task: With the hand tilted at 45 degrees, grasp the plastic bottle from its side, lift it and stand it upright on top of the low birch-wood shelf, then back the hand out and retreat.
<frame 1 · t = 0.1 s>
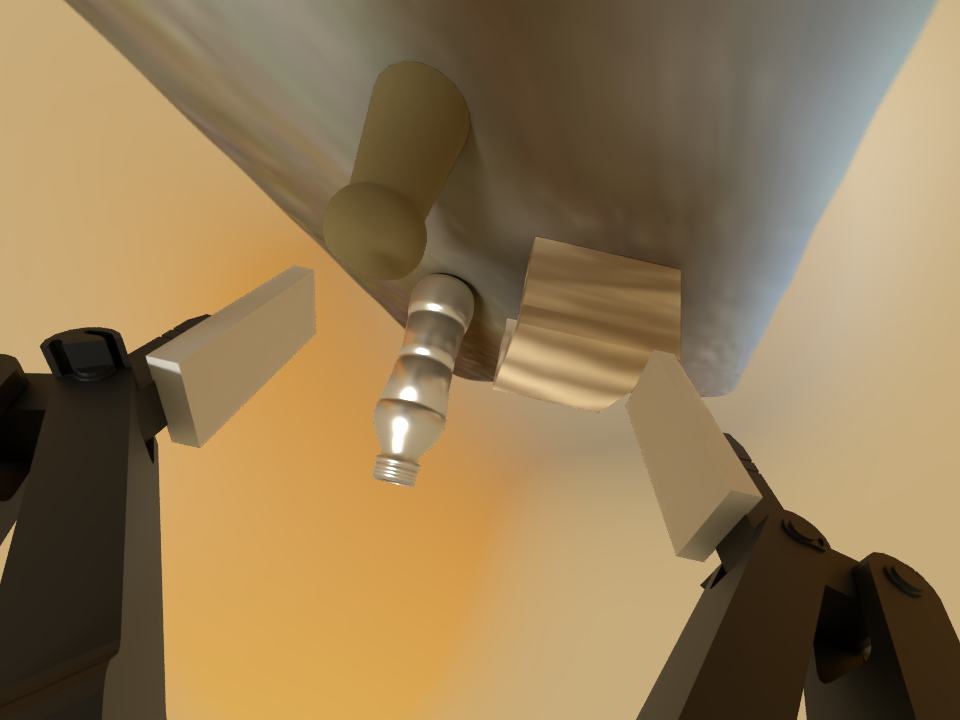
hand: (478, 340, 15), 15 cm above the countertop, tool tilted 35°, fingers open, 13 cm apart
cork: (422, 113, 24), on the countertop
birch shelf: (576, 303, 39), on the countertop
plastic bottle: (448, 283, 40), on the countertop
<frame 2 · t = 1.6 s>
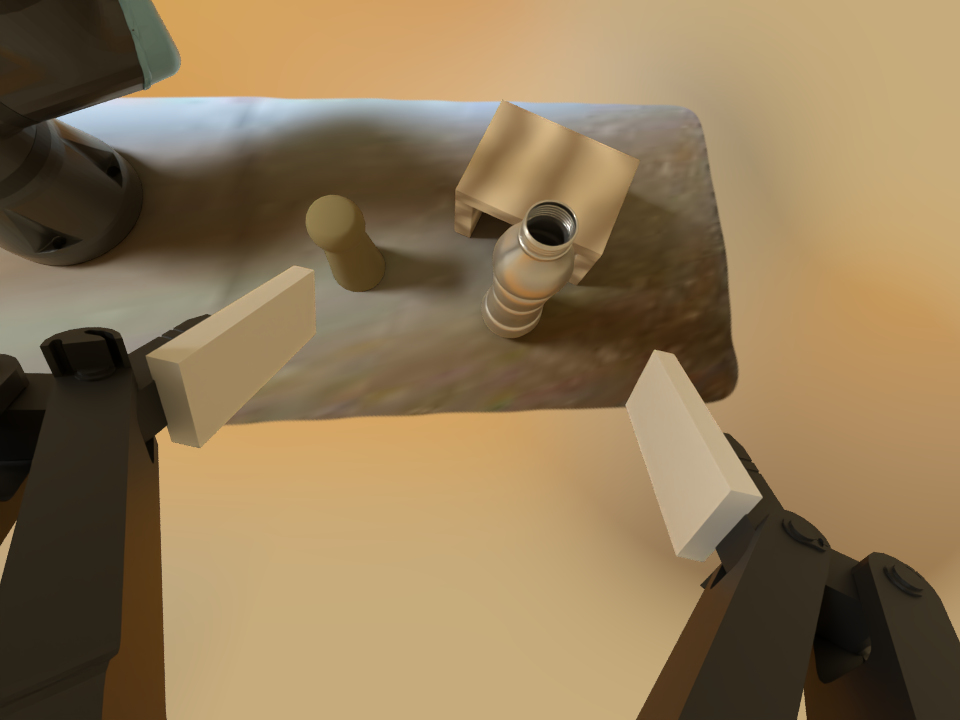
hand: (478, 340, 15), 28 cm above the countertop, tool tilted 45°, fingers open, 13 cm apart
cork: (359, 267, 45), on the countertop
birch shelf: (534, 217, 48), on the countertop
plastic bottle: (507, 316, 45), on the countertop
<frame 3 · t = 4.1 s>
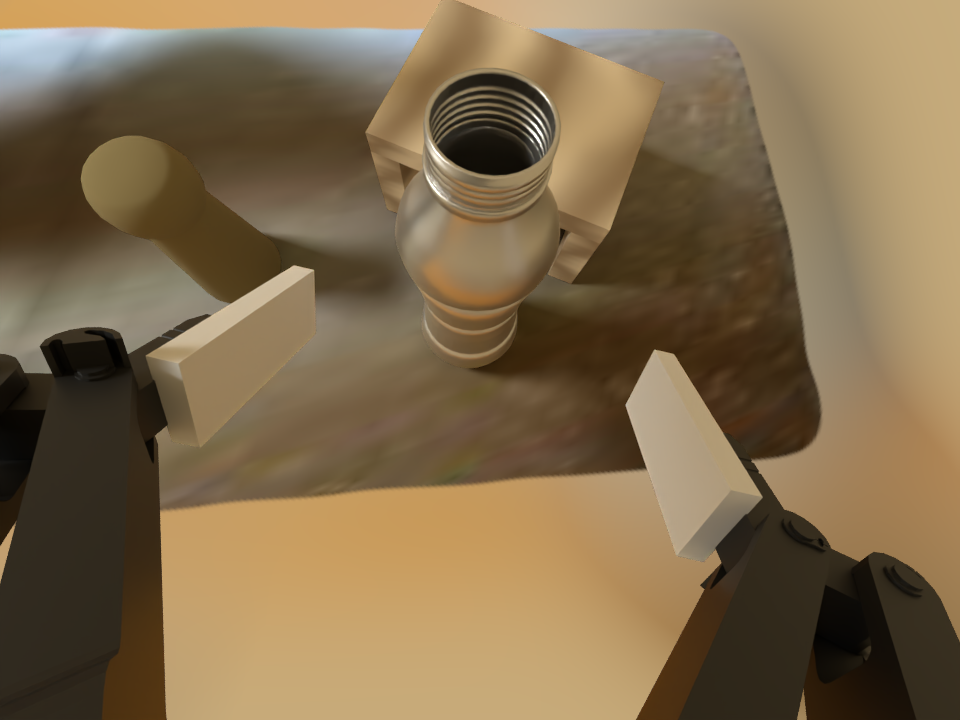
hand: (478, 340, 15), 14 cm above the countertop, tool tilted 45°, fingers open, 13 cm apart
cork: (241, 267, 30), on the countertop
birch shelf: (505, 186, 33), on the countertop
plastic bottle: (468, 333, 30), on the countertop
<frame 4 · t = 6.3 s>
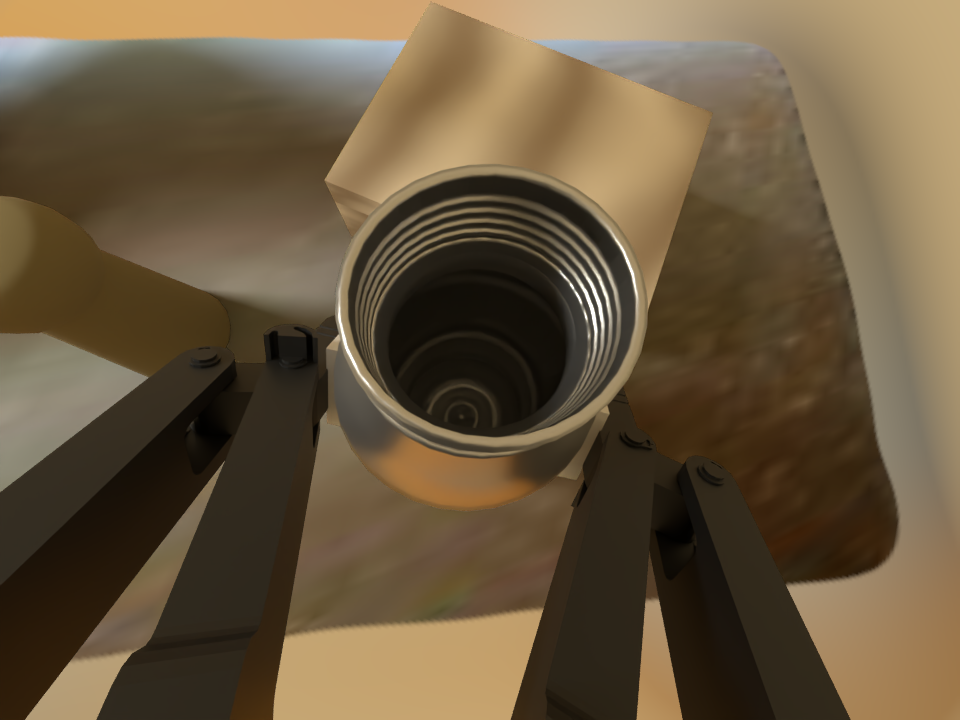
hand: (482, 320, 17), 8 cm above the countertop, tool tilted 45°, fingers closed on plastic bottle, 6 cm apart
cork: (181, 334, 24), on the countertop
birch shelf: (508, 232, 27), on the countertop
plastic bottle: (460, 418, 24), on the countertop, touching gripper
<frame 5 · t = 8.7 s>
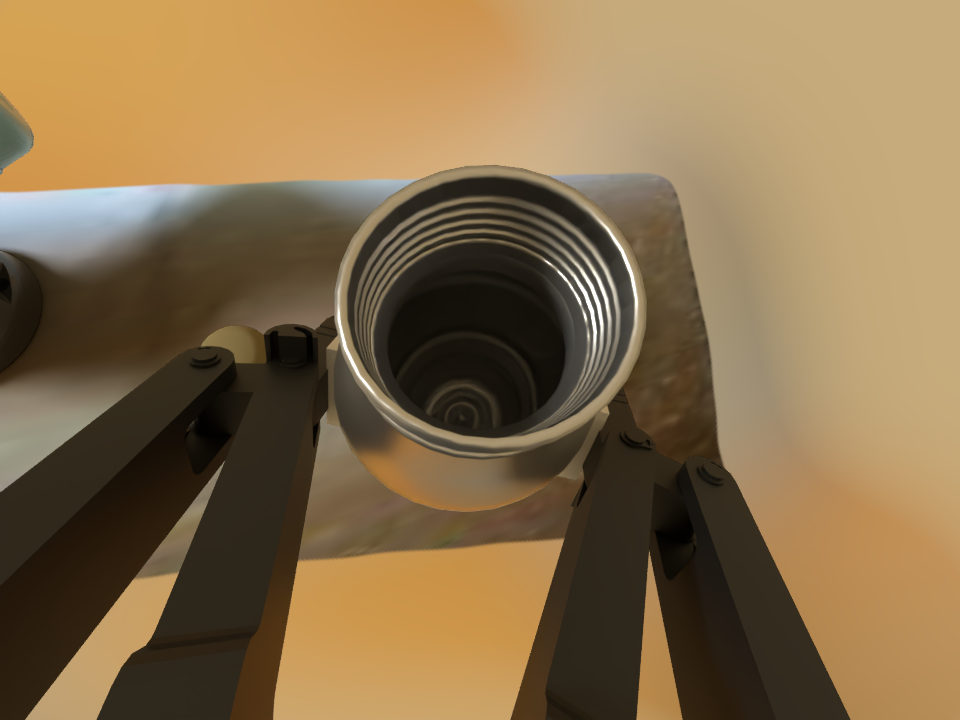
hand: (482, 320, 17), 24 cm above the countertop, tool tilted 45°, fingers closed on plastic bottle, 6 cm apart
cork: (288, 379, 40), on the countertop
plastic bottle: (460, 418, 24), point 16 cm above the countertop, touching gripper
when the fingers open (18 cm above the countertop, at t = 11.4 s): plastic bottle drops 1 cm, resting on birch shelf.
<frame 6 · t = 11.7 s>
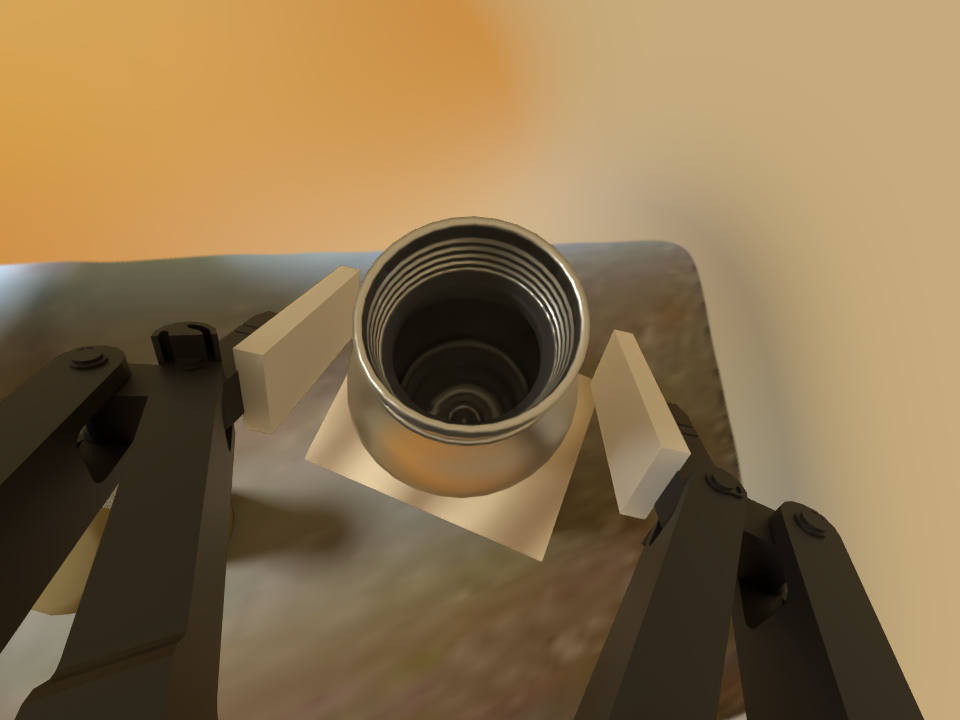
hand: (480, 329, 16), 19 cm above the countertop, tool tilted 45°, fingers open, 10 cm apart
cork: (194, 525, 31), on the countertop
birch shelf: (458, 425, 33), on the countertop
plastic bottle: (463, 421, 26), point 8 cm above the countertop, touching birch shelf
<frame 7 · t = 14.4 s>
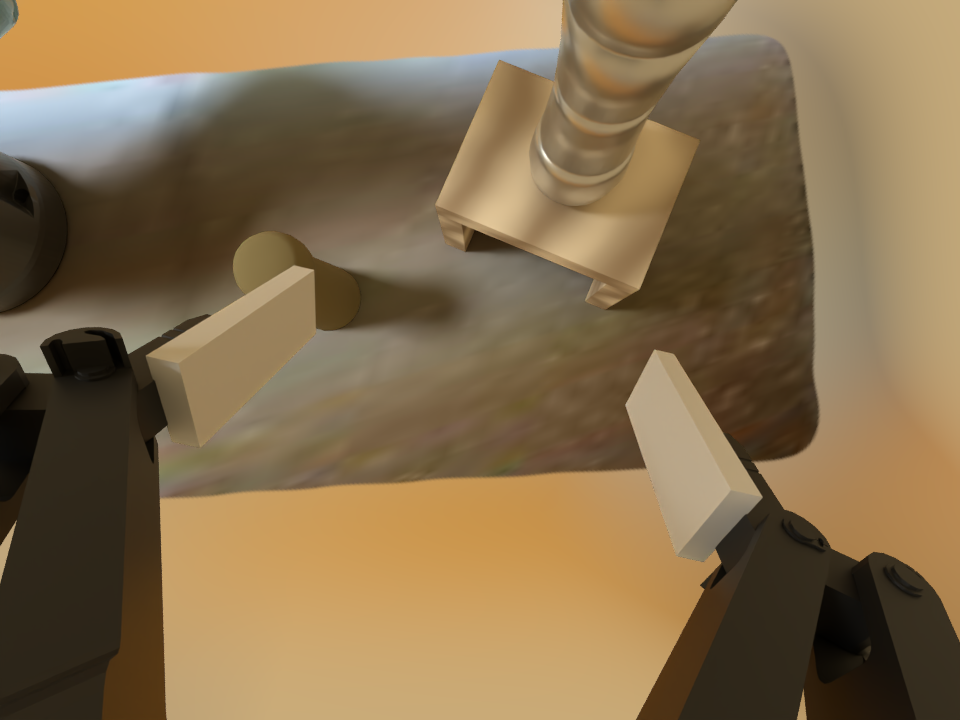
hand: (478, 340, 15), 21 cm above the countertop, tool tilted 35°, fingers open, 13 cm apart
cork: (329, 298, 36), on the countertop
birch shelf: (549, 218, 37), on the countertop
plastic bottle: (570, 175, 29), point 8 cm above the countertop, touching birch shelf
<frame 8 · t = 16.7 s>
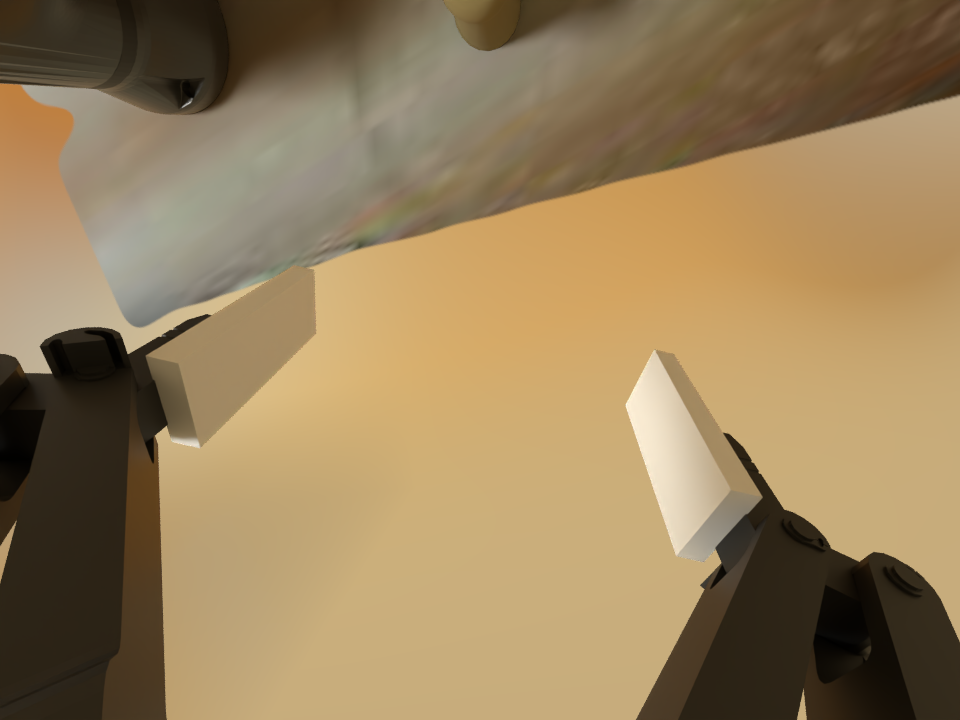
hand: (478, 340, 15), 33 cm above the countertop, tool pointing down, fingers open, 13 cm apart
cork: (487, 8, 35), on the countertop
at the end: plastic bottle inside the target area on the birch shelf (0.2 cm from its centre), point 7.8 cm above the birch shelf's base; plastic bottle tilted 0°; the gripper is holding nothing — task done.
